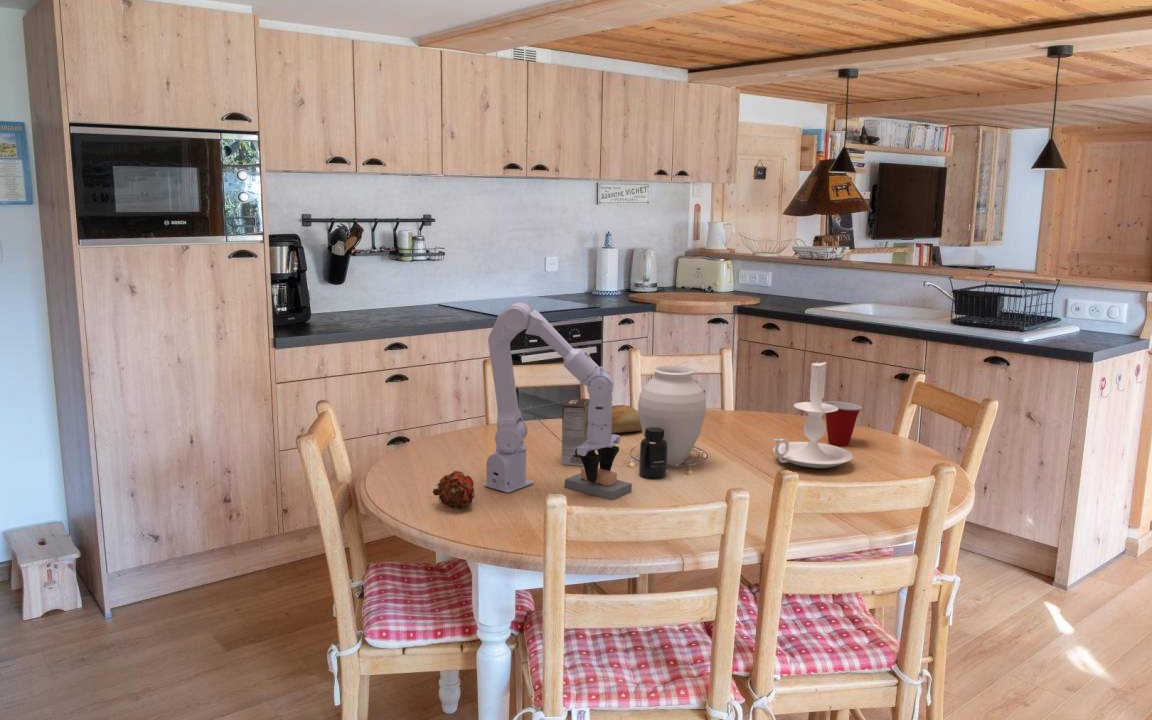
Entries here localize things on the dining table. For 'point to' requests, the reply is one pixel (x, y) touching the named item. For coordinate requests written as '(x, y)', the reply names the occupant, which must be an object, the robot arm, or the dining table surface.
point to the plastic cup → (841, 422)
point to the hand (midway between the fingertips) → (598, 478)
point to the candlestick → (813, 430)
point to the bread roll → (625, 419)
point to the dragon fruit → (455, 490)
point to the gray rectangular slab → (598, 487)
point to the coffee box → (574, 429)
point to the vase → (673, 409)
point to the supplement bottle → (653, 454)
